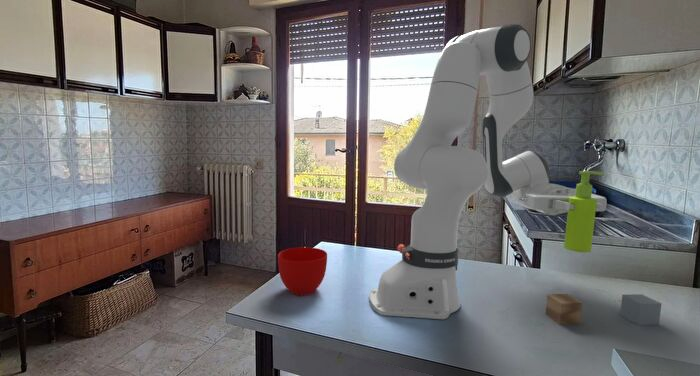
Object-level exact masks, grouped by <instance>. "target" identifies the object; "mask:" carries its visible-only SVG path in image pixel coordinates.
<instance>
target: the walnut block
mask: <svg viewBox="0 0 700 376" xmlns="http://www.w3.org/2000/svg"><path fill="white" fill-rule="evenodd" d="M546 294H547V295H546V304H545V305H546V306H545V315H546V316H548V317H549V318H550V319H552V320H553V321H554V322H555V323H557V324H558V325H581V321H582V312H583V302H581V300H579V299H577V298H575V297H573V296H572V295H571V294H569V293H546Z"/></svg>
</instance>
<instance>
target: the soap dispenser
mask: <svg viewBox="0 0 700 376" xmlns="http://www.w3.org/2000/svg"><path fill="white" fill-rule="evenodd" d="M578 174H579V175H581V177H580V182H579V183H576V185H575V188H576V194H575V196H574V197H569V202H570V203H574V210H568V212H567V214H566V215H567V216H566V225H565V233H564V234H565V235H564V241H563V242H564V243H563V248H564V249H566V250H568V251H572V252H576V253H577V252H578V253H591V252H592V246H593V245H592V244H593V239H594V238H593V237H594V229H595V220H596V212H597V211H596V204H597V200H596V199H593V198H591V195H592V194H593V184H591V183H590V176H591V175H598V176H602V177H604V176H606V173H604V172H600V171H594V170H593V171H591V170H582V171H581V170H579V173H578Z"/></svg>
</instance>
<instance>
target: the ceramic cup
mask: <svg viewBox="0 0 700 376" xmlns="http://www.w3.org/2000/svg"><path fill="white" fill-rule="evenodd" d="M327 263H328V253H327V251H325V250H324V249H321V248H317V247H310V246H309V247H307V246H300V247H291V248H287V249H286V248H285V249H284V250H281V251H280V252H279V253H278V254H277V265H278V271H279V276H280V279H281V281H282V284H283V285H284V286H285V287H286V289H287V290H288V291H289V292H290V293H291V294H293V295H296V296H308V295H311V294H314V293H315V292H316V290H317V289H318V288H319V287H320V285H322V282H323V280H324V278H325V275H326V271H327Z"/></svg>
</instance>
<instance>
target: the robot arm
mask: <svg viewBox="0 0 700 376" xmlns="http://www.w3.org/2000/svg"><path fill="white" fill-rule="evenodd" d="M531 47H532V41H531V36H530V34H529V32H528V30H527V29H526V28H524V26H523V25H521V24H519V23H518V24H517V23H516V24H515V23H514V24H512V23H511V24H510V23H509V24H503V25H502V26H494V27H489V28H482V29H481V28H480V29H477V30H473V31H471V32H468V33H466V34H460V35H457V36H455V37H453V38H452V39H450V40H449V41H448V42H447V43H446V45H445V46H444V49H442V52H441V54H440V56H439V58H438V61H437V62H436V63H437V64H436V66H435V69H434V72H433V76H432V79H431V84H430V89H429V93H428V97H427V101H426V106H425V108H424V109H425V110H424V113H423V116H422V119H421V122H420V124H419V125H418V128H417V130H416V131H415V133H414V135H413V137H412V138H411V140H410V141H409V142H408V144H407V145H406V146H405V147H404V148H402V150H400V151H399V153H397V155H396V157H395V159H394V164H393V168H394V173H395V176H396V177H397V179H398V180H399V181H400V182H401V183H404V184H405V185H407V186H409V187H411V188H414V189H419V190H426V191H427V192H426V197H425V200H424V202H423V205H422V206H421V207H419V208H417V209H416V210H415V211H414V212H413V214H412V215H411V225H410V227H411V228H410V244H409V245H407V246H405V244H402V243H400V244H398V246H397V251H398V252H399V253H400V254H401V255H402V256H401V260H399V261H398V262H396V263H395V264H394V265H392V266H391V267H390V268H388V269H386V270H385V271H384V272H382V274H381V275H380V279H379V281H378V286H377V287H376V288H375V287H374V288H373V289H371V290H370V292H369V296H368V299H369V300H368V301H369V304H370V306H371V308H372V309H373V310H374V311H375V312H376V313H377V314H379V315H381V316H390V317H405V318H418V319H431V320H433V319H435V320H447V319H448V318H449V316H450V315H451V314H452V313H453V314H454V313H455V312H457V311H458V310H459V309H460V307H461V302H460V297H459V293H458V291H459V290H458V285H457V283H458V282H457V271H458V265H459V249H458V247H457V243H458V231H459V222H460V217H461V214H462V211H463V209H464V207H465V204H467V202H468V200H469V199H470V198H471V197H472V196H473V195H475V193H477V192H478V191H479V190H480V189H481V188H482V187H484V189H485V190H486V192H487V193H488V194H490V195H491V196H494V197H497V198H502V199H503V198H506V197H507V196H510V197H511V199H513V201H514V202H516V204H517V205H519V206H522V207H523V208H526V209H530V210H534V211H537V212H539V213H543V214H546V215H549V216H556V215H560V214H564V213H565V214H566V213H568V210H574V203H570V202H569V197H574V196H575V194H576V187H566V186H564V185H562V184H561V185H560V184H556V183H550V178H551V177H550V174H551V173H550V168H549V165H548V162H547V161H546V159H545V157H544V156H542V155H540V154H539V153H537V152H535V151H532V150H526V151H524V152H522V153H519V154H517V155H515V156H512V157H511V158H508V159H506V160H503V146H502V145H503V139H504V137H505V135H506V133H507V132H509V130H510V129H511V128H512V127H513V126H514V125H515V124H516V123H517V122H519V120H521V119H522V118H523V117H524V116H525V115H526V114H527V113H528V112H529V111H530V108H531V107H532V105H533V102H534V86H533V82H532V81H533V80H532V76H531V75H532V74H531V70H530V67H529V65H528V61H527V60H528V59H529V57H530V54H531ZM481 76H486V83H487V84H486V85H487V89H488V95H489V103H488V110H487V112H486V114H485V115H484V117H483V119H482V127H481V128H482V132H481V133H482V150H483V151H482V152H483V153H481V152H480V151H478V150H475V149H472V148H469V147H466V146H465V147H464V146H460V145H452V144H453V142H454V141H455V139H457V138H458V137H459V135H460V134H461V133H463V132H464V131H466V130H467V129H468V128H469V126H470V125H471V123H472V121H473V114H474V110H475V106H476V100H477V96H478V92H479V87H480V79H481ZM591 198H593V199H596V200H597V204H596V212H605V211H606V209H607V203H608V202H607V198H606V197H605V196H602V195H598V194H595V193H592V195H591Z"/></svg>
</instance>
